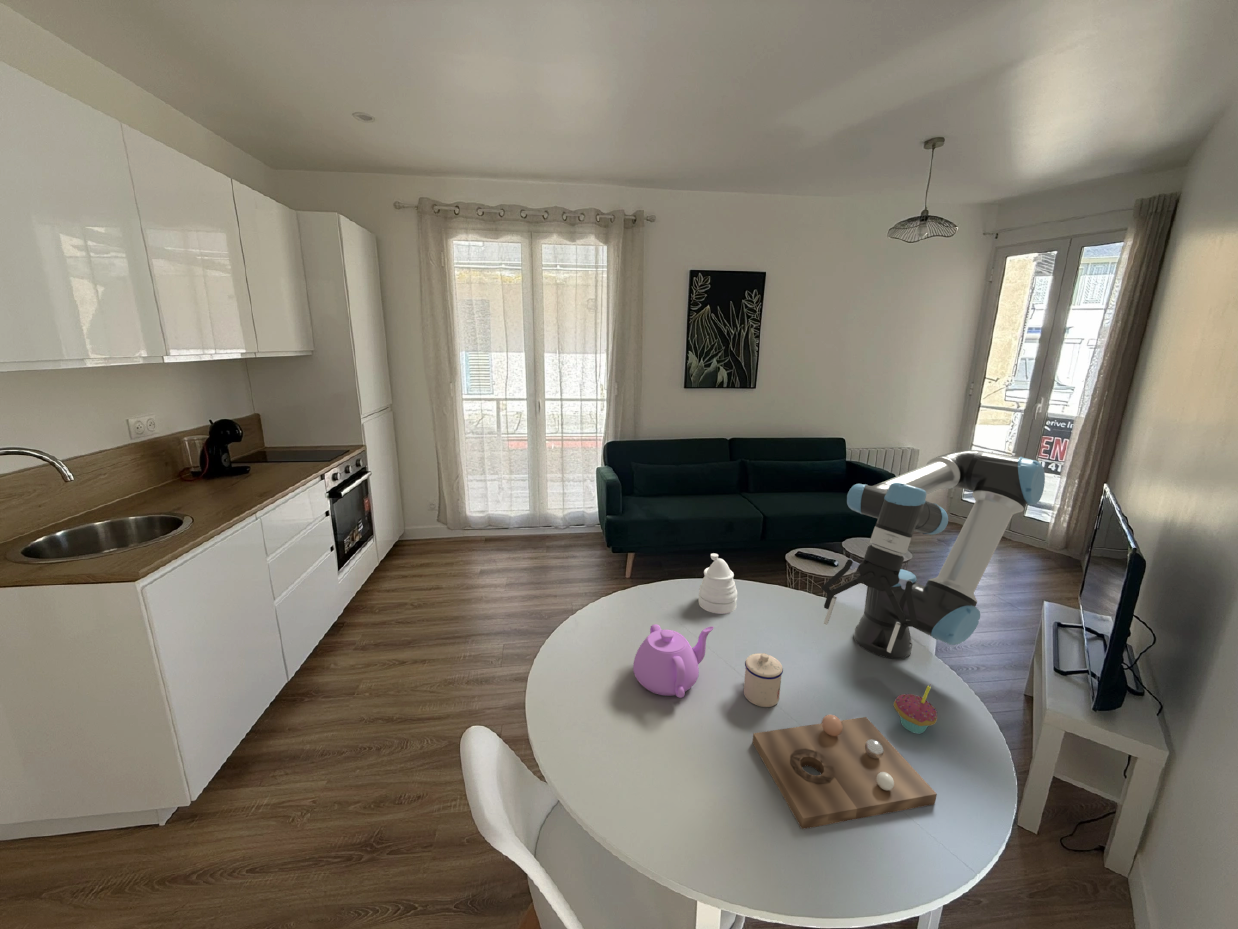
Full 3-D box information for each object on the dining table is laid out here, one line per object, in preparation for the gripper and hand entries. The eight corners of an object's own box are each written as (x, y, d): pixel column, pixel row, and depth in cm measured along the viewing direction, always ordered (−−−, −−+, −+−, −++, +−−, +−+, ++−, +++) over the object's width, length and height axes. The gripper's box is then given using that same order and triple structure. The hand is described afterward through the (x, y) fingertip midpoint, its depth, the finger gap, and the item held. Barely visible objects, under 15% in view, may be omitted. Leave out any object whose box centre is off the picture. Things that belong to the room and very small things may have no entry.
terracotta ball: (833, 725, 108) (835, 709, 107) (845, 739, 104) (847, 723, 103) (816, 727, 107) (818, 711, 106) (828, 742, 103) (830, 725, 102)
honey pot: (698, 611, 159) (700, 562, 155) (698, 593, 171) (700, 546, 167) (737, 615, 157) (741, 565, 153) (735, 596, 169) (738, 549, 165)
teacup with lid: (786, 707, 117) (790, 666, 114) (749, 709, 116) (753, 668, 113) (767, 675, 128) (770, 636, 125) (734, 677, 127) (737, 638, 125)
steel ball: (874, 748, 102) (876, 734, 101) (886, 761, 98) (888, 747, 98) (859, 750, 101) (862, 736, 100) (871, 764, 98) (873, 749, 97)
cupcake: (928, 718, 114) (936, 674, 111) (939, 745, 106) (948, 698, 103) (888, 709, 116) (895, 666, 114) (895, 735, 109) (903, 689, 106)
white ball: (885, 779, 94) (887, 767, 94) (896, 793, 91) (898, 780, 91) (871, 782, 94) (873, 769, 93) (882, 795, 91) (884, 782, 90)
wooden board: (864, 726, 111) (866, 717, 110) (934, 804, 92) (936, 794, 91) (752, 742, 106) (753, 733, 105) (801, 829, 87) (803, 818, 86)
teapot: (730, 697, 120) (734, 649, 116) (649, 715, 114) (650, 665, 110) (693, 646, 140) (695, 604, 137) (622, 659, 134) (623, 615, 131)
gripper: (827, 530, 112) (799, 615, 113) (952, 573, 99) (918, 668, 100) (831, 530, 118) (804, 610, 119) (948, 570, 105) (916, 658, 107)
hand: (856, 636), depth 110 cm, fingers open, 13 cm apart
